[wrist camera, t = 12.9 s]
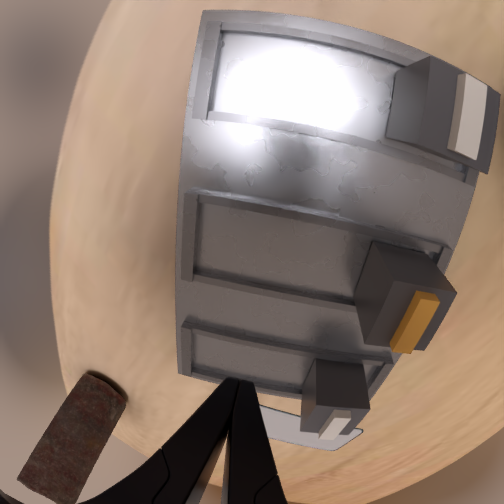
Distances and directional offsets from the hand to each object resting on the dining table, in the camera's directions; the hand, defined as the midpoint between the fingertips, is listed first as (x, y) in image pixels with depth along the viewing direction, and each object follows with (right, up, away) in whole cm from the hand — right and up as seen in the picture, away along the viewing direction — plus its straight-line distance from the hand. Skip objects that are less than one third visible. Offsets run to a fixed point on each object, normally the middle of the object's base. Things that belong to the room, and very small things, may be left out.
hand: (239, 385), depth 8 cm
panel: (+5, +5, +11) cm, 12 cm away
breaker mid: (+9, +3, +8) cm, 13 cm away
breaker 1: (+7, -6, +13) cm, 16 cm away
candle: (-19, -14, +24) cm, 34 cm away
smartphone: (+6, -17, +21) cm, 28 cm away
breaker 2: (+10, +12, +4) cm, 16 cm away
